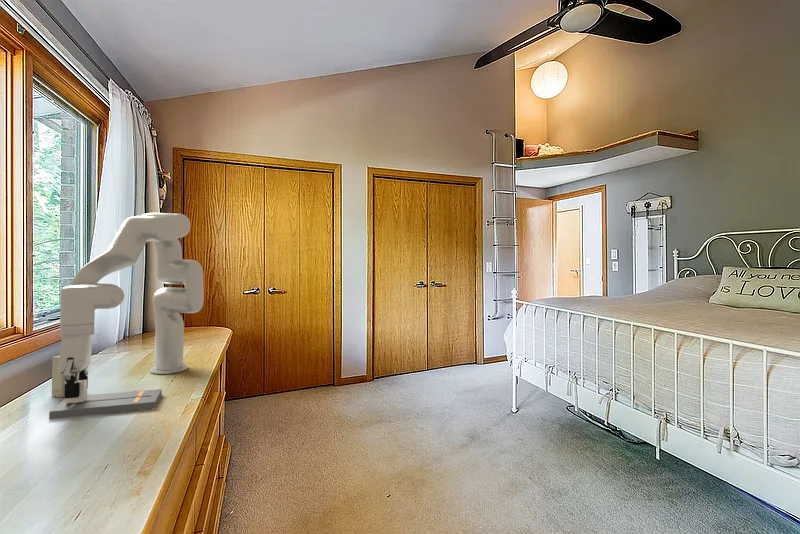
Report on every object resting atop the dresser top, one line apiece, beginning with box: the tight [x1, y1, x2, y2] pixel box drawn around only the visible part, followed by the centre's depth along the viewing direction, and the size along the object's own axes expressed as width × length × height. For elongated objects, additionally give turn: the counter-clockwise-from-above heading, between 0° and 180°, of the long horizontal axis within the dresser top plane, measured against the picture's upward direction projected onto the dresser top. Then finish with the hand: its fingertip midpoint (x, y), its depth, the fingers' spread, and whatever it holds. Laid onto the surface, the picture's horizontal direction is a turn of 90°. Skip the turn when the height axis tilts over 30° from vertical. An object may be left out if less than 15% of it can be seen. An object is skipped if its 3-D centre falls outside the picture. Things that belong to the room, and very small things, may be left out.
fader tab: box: [64, 380, 88, 403], centre depth 113 cm, size 3×4×5 cm
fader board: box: [48, 388, 163, 420], centre depth 116 cm, size 12×24×2 cm, turn 112°
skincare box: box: [51, 355, 75, 398], centre depth 125 cm, size 6×4×12 cm
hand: (76, 393), depth 113 cm, fingers open, 5 cm apart
